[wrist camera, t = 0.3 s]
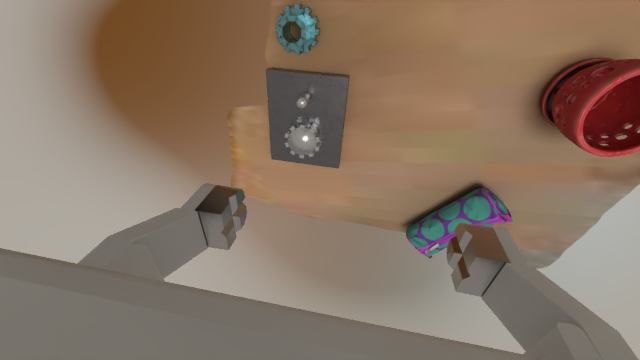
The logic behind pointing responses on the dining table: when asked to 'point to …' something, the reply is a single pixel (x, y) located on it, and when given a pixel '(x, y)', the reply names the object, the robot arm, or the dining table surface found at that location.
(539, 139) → the dining table surface
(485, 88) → the dining table surface
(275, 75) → the carrier plate
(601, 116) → the plant pot
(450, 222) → the pencil case
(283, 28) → the planet gear
